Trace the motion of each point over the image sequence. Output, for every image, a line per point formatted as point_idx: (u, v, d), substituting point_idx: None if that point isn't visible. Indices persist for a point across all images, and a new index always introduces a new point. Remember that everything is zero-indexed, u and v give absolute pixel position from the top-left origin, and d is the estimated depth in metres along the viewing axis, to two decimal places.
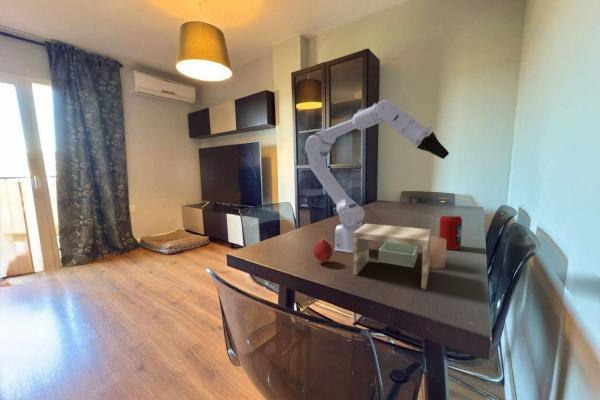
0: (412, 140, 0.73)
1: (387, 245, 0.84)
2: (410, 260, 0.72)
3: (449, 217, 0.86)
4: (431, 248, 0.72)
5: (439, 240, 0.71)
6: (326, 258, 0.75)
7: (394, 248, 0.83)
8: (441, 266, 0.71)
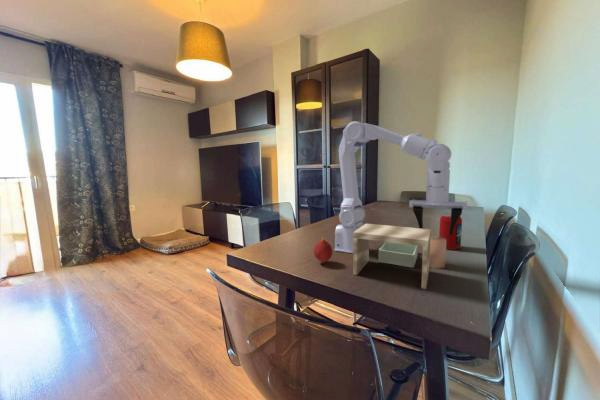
0: None
1: (387, 245, 0.84)
2: (410, 260, 0.72)
3: (449, 217, 0.86)
4: (431, 248, 0.72)
5: (439, 240, 0.71)
6: (326, 258, 0.75)
7: (394, 248, 0.83)
8: (441, 266, 0.71)
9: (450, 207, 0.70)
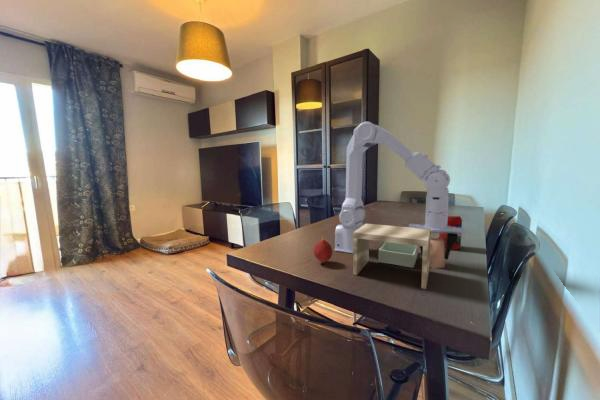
0: None
1: (387, 245, 0.84)
2: (410, 260, 0.72)
3: (449, 217, 0.86)
4: (431, 248, 0.72)
5: (439, 240, 0.71)
6: (326, 258, 0.75)
7: (394, 248, 0.83)
8: (441, 266, 0.71)
9: (449, 232, 0.71)
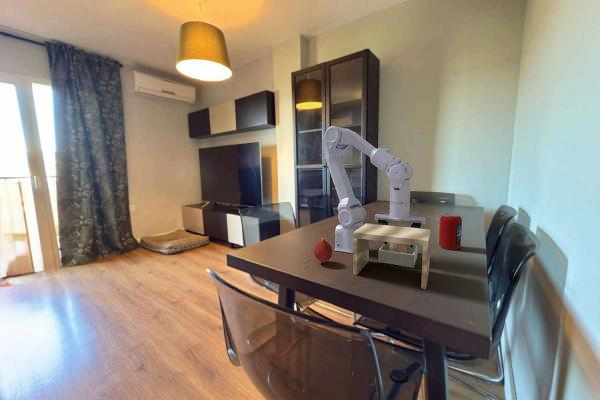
0: None
1: (387, 245, 0.84)
2: (410, 260, 0.72)
3: (449, 217, 0.86)
4: None
5: None
6: (326, 258, 0.75)
7: None
8: None
9: (411, 222, 0.75)
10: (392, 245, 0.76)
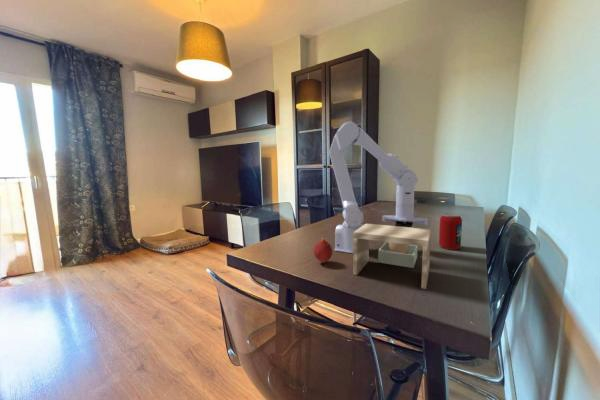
0: None
1: (387, 245, 0.84)
2: (410, 261, 0.71)
3: (449, 217, 0.86)
4: None
5: None
6: (326, 258, 0.75)
7: None
8: None
9: (414, 222, 0.85)
10: (391, 245, 0.76)
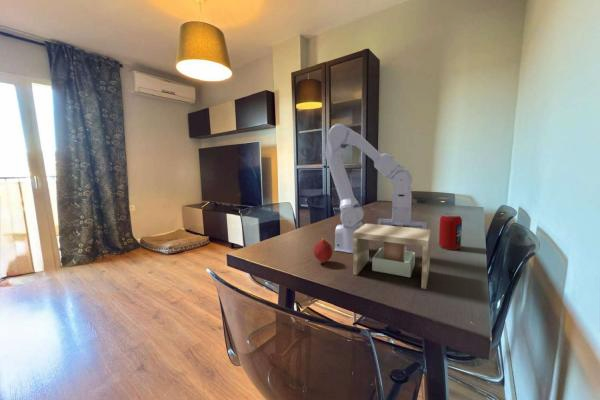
0: None
1: (382, 251, 0.78)
2: (407, 270, 0.66)
3: (449, 217, 0.86)
4: (389, 248, 0.69)
5: None
6: (326, 258, 0.75)
7: None
8: None
9: (412, 226, 0.79)
10: (387, 252, 0.70)
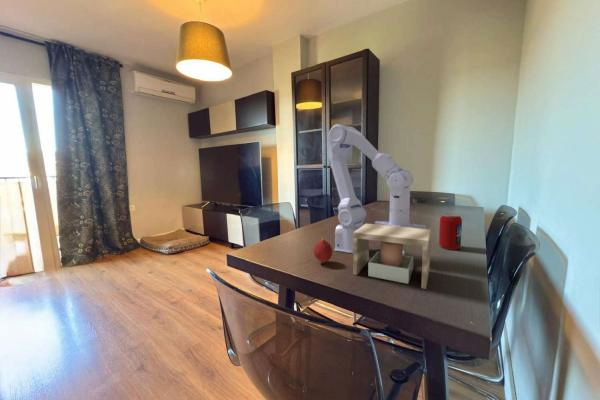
0: None
1: (379, 255, 0.74)
2: (405, 275, 0.62)
3: (449, 217, 0.86)
4: (386, 252, 0.66)
5: (394, 244, 0.65)
6: (326, 258, 0.75)
7: None
8: None
9: None
10: (384, 256, 0.67)
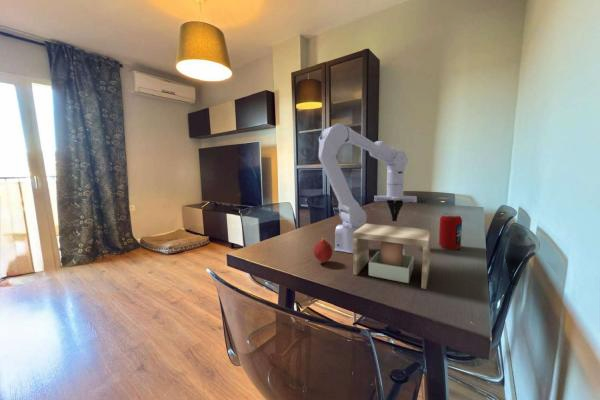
0: None
1: (379, 255, 0.75)
2: (405, 275, 0.62)
3: (449, 217, 0.86)
4: (386, 252, 0.66)
5: (395, 244, 0.66)
6: (326, 258, 0.75)
7: None
8: None
9: (404, 200, 0.90)
10: (384, 256, 0.67)
